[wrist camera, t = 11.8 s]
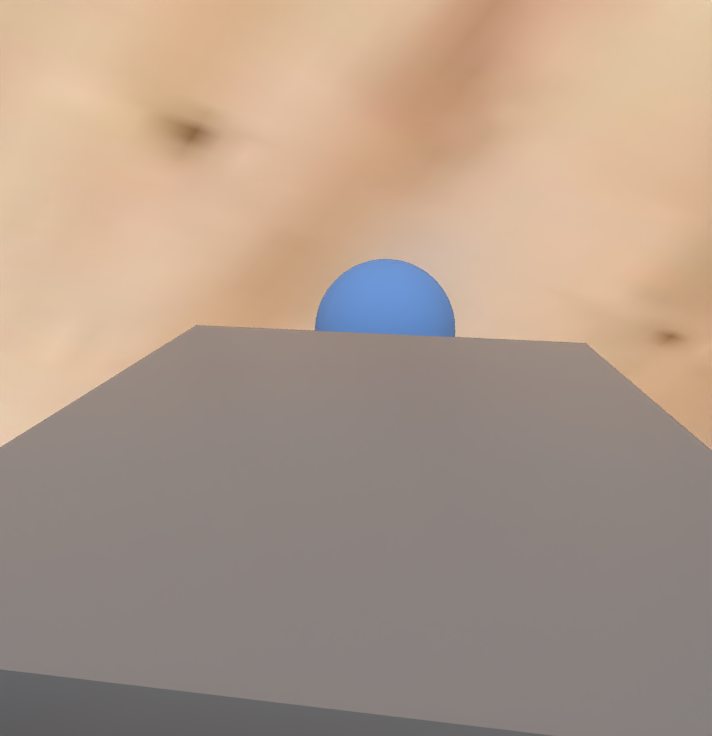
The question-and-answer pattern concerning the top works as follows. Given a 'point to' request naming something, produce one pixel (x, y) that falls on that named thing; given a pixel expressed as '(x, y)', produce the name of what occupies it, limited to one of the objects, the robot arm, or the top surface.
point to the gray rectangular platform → (357, 546)
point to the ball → (386, 302)
